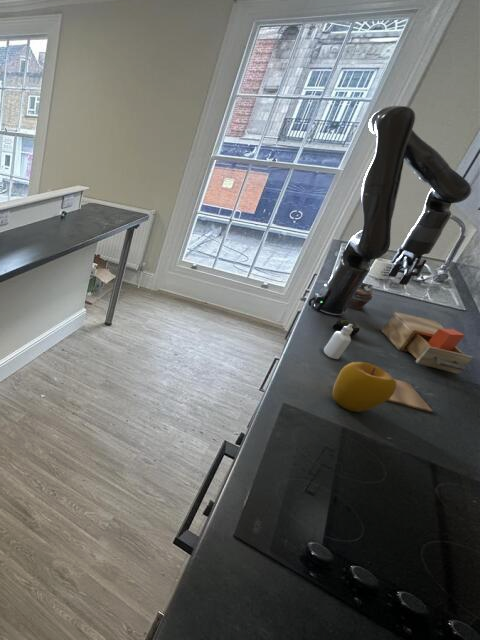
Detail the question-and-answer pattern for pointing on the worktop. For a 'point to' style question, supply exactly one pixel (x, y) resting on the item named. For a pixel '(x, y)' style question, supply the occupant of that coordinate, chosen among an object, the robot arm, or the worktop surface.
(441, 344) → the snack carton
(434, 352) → the drawer
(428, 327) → the cabinet
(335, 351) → the eye dropper bottle
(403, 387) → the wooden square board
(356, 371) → the apple
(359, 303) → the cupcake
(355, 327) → the tape measure
